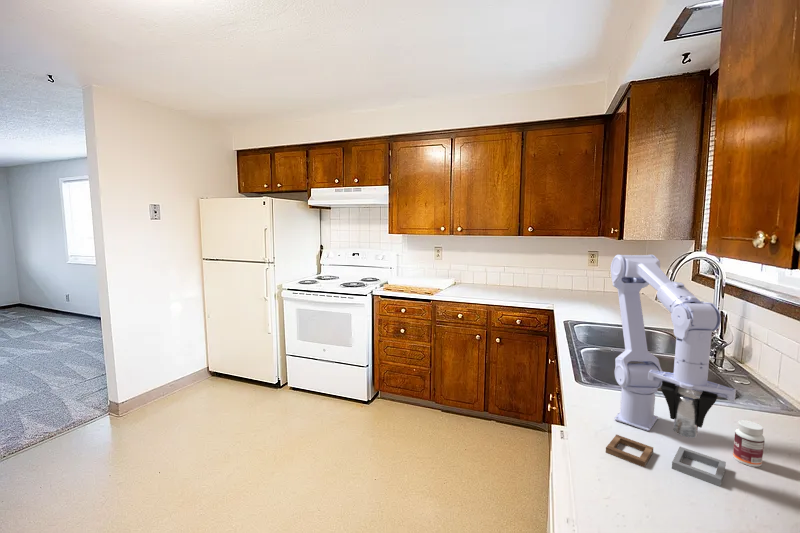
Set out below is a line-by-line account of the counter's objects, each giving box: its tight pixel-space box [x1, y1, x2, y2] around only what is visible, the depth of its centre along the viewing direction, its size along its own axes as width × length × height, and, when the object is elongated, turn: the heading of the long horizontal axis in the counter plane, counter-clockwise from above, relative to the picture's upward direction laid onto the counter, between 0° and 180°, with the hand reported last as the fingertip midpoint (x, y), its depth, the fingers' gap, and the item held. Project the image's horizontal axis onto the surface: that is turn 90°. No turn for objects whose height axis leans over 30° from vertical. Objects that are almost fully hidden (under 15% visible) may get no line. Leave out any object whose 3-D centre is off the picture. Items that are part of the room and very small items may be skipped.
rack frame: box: [671, 446, 727, 487], centre depth 81 cm, size 8×8×2 cm
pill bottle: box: [732, 419, 765, 468], centre depth 83 cm, size 5×5×8 cm
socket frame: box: [605, 434, 654, 468], centre depth 87 cm, size 8×8×1 cm
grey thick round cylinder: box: [673, 391, 700, 438], centre depth 81 cm, size 4×4×8 cm
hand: (686, 421), depth 81 cm, fingers closed on grey thick round cylinder, 4 cm apart
